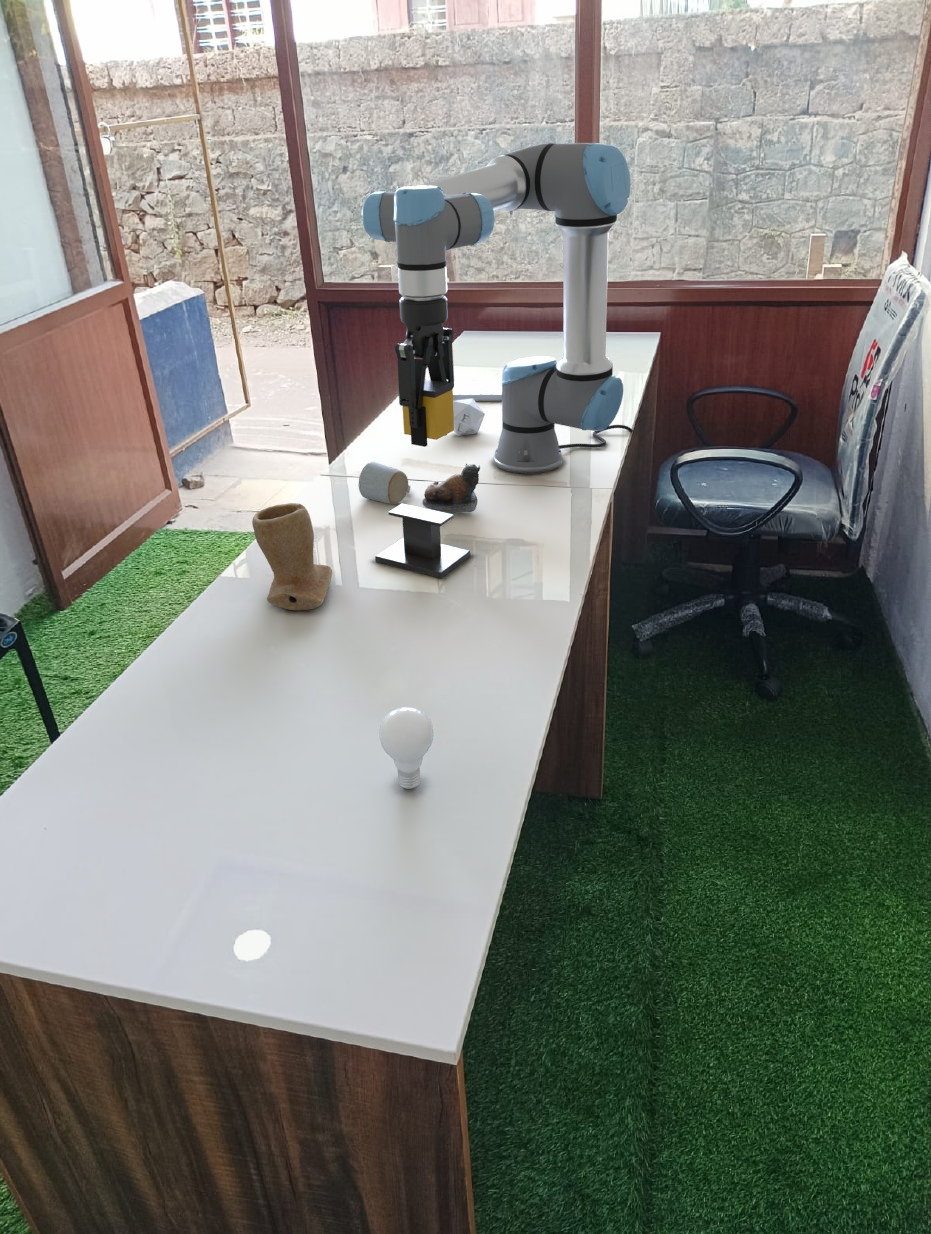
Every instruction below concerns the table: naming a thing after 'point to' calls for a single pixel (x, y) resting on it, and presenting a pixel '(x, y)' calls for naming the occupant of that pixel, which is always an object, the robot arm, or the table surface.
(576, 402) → the robot arm
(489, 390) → the computer keyboard
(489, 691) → the table surface
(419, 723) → the lightbulb
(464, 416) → the die
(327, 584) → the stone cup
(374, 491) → the ceramic mug
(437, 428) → the block
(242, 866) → the table surface
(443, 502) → the brown animal-shaped figure
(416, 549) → the stand
